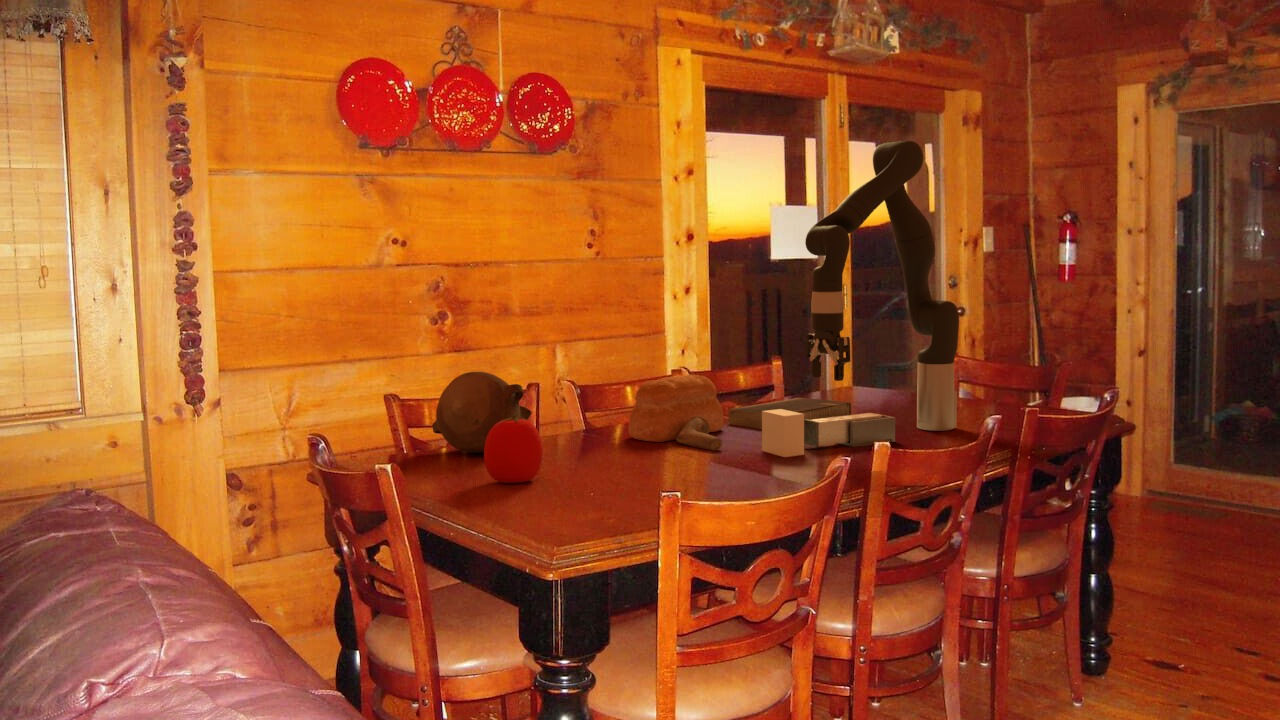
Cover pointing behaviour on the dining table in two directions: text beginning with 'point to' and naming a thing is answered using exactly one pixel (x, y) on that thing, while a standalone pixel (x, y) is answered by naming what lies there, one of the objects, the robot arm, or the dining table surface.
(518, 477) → the tomato
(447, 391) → the jug
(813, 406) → the grey shallow rectangular piece
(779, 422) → the tan block
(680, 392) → the bread
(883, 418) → the sleeve
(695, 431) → the pipe
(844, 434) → the beige rectangular block
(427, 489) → the dining table surface
